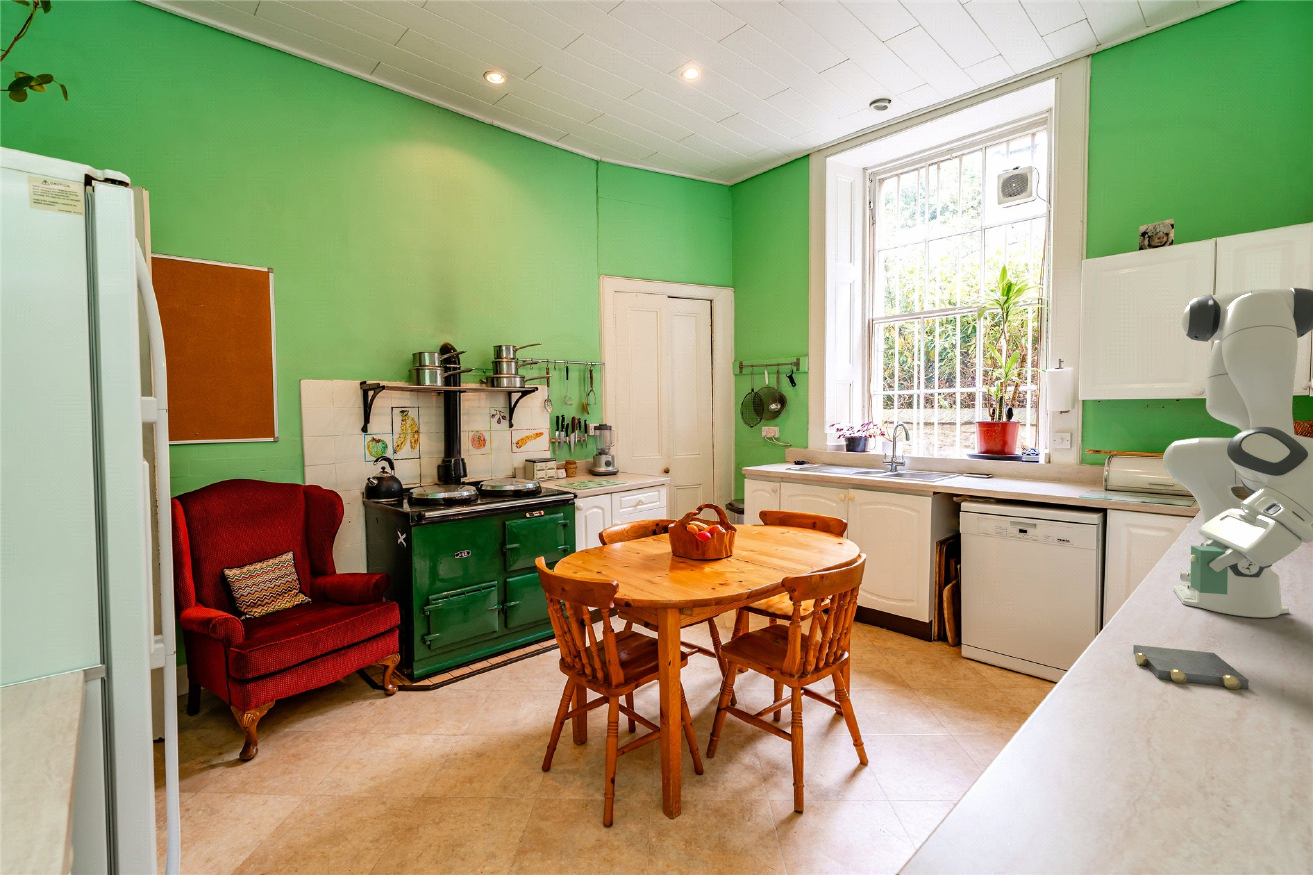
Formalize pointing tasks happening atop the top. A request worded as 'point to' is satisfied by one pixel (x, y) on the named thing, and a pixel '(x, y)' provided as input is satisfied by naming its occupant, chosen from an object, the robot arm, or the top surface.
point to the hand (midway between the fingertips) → (1204, 564)
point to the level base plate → (1189, 666)
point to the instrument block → (1207, 570)
